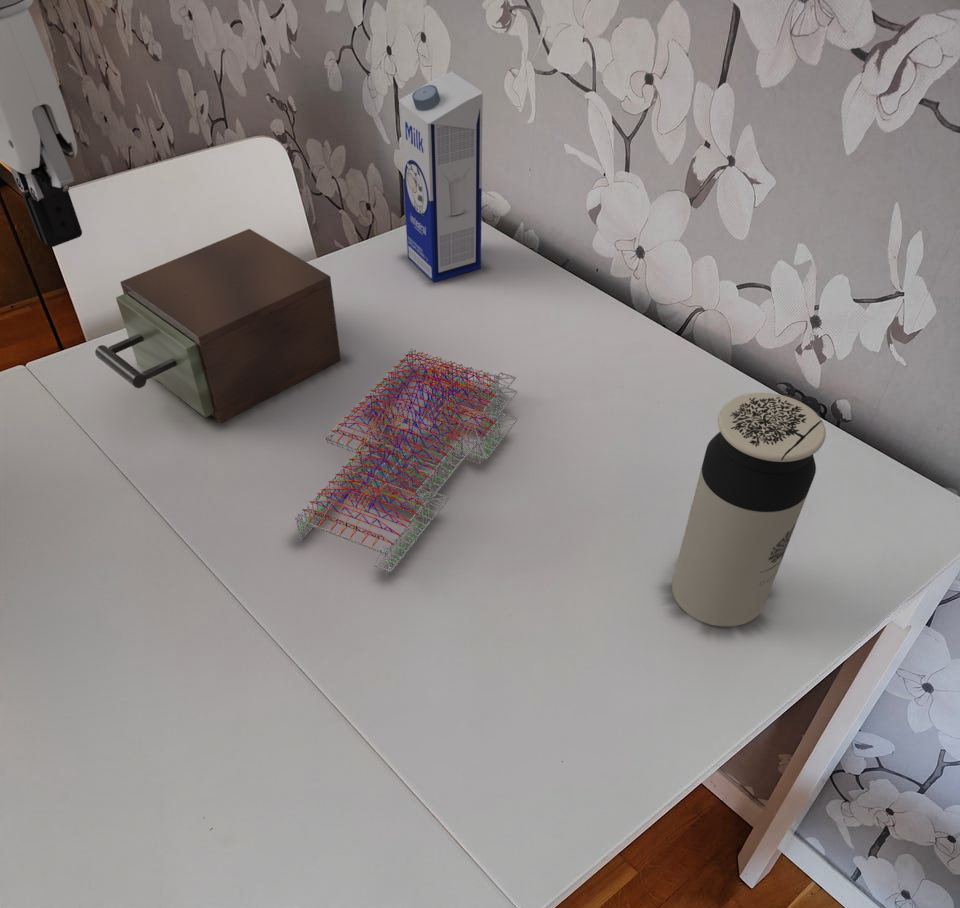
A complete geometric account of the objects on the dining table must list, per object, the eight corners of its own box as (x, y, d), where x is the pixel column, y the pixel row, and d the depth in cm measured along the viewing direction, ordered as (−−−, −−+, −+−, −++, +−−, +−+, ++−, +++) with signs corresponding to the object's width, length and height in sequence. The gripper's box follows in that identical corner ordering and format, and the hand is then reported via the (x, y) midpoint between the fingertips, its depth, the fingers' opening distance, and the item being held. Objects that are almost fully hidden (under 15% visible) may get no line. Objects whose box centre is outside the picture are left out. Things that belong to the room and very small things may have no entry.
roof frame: (399, 592, 77) (395, 550, 73) (254, 535, 81) (243, 492, 77) (543, 403, 94) (546, 360, 90) (417, 364, 98) (415, 321, 94)
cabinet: (220, 423, 92) (198, 337, 84) (146, 366, 98) (119, 281, 90) (341, 360, 99) (330, 276, 91) (265, 311, 105) (249, 228, 97)
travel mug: (651, 589, 78) (692, 418, 64) (712, 547, 81) (763, 376, 67) (722, 644, 74) (782, 475, 60) (783, 598, 77) (853, 428, 63)
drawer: (163, 439, 88) (140, 370, 82) (96, 384, 94) (70, 316, 88) (319, 359, 97) (309, 291, 91) (249, 313, 103) (236, 246, 97)
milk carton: (481, 269, 111) (483, 90, 96) (433, 283, 109) (427, 103, 93) (453, 244, 115) (451, 68, 99) (407, 257, 113) (397, 79, 97)
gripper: (-130, -32, 64) (-21, 223, 78) (-34, 20, 58) (65, 288, 72) (-29, -53, 68) (58, 195, 82) (72, -6, 61) (147, 255, 75)
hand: (61, 238), depth 77 cm, fingers closed
